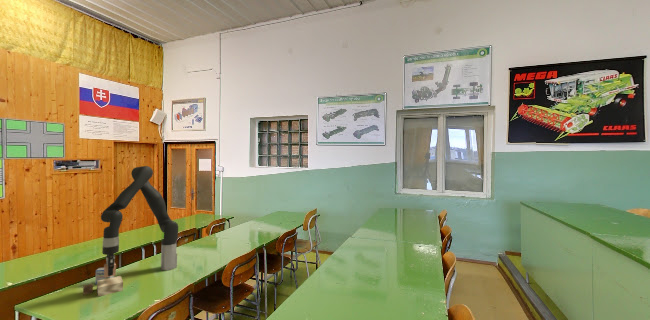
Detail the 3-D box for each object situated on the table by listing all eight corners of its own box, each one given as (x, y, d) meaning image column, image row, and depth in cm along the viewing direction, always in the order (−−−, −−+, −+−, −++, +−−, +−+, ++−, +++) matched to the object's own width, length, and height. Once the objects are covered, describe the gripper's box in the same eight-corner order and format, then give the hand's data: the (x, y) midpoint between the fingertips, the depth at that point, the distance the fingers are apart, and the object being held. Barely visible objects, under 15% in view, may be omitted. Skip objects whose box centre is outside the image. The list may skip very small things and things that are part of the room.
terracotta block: (114, 272, 160) (115, 262, 161) (115, 275, 157) (116, 264, 157) (103, 274, 157) (104, 264, 157) (104, 277, 153) (104, 267, 153)
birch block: (120, 283, 165) (120, 275, 165) (122, 290, 157) (123, 281, 157) (96, 289, 157) (97, 280, 157) (98, 296, 149) (98, 287, 149)
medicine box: (94, 284, 163) (95, 270, 163) (98, 281, 167) (99, 267, 167) (110, 283, 165) (110, 269, 165) (113, 280, 169) (114, 266, 169)
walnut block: (92, 290, 156) (92, 283, 156) (92, 292, 153) (92, 285, 153) (83, 292, 154) (83, 285, 154) (83, 295, 151) (83, 288, 151)
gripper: (120, 246, 154) (119, 276, 154) (117, 240, 165) (116, 268, 165) (103, 249, 149) (102, 279, 149) (101, 242, 160) (100, 271, 160)
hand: (109, 273), depth 157 cm, fingers closed on terracotta block, 5 cm apart
